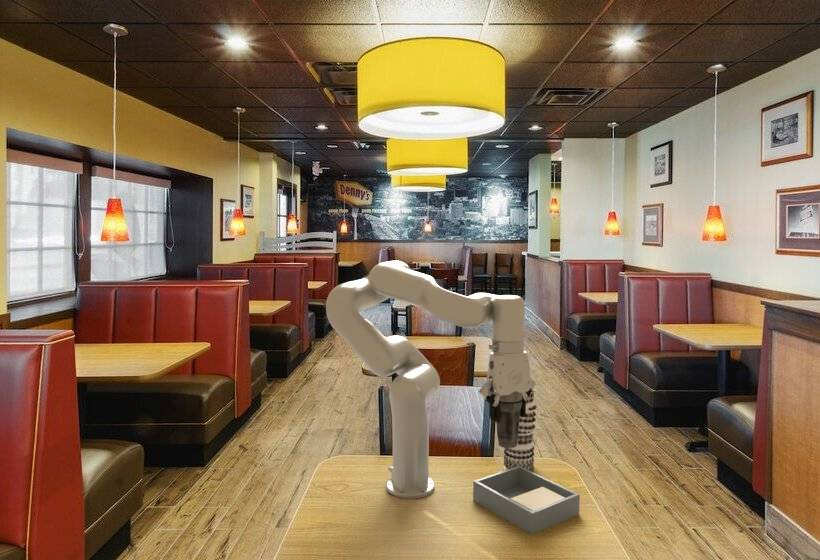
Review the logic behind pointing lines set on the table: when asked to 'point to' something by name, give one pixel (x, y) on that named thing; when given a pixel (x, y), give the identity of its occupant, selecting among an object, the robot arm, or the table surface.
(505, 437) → the beverage cup
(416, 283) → the robot arm
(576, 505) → the tray
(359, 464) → the table surface
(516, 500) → the beige rectangular block
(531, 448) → the decorative candle
